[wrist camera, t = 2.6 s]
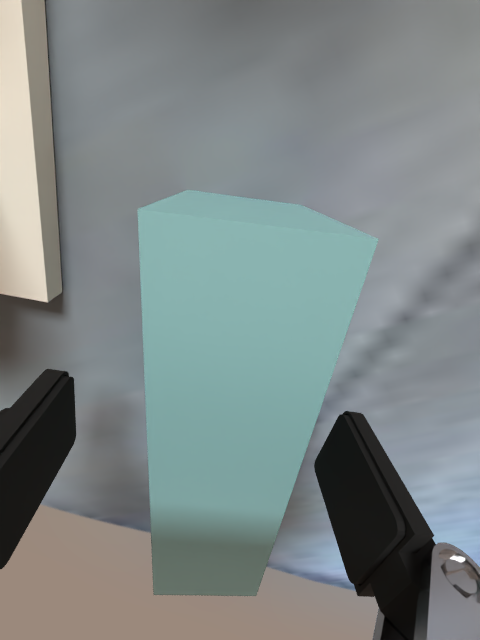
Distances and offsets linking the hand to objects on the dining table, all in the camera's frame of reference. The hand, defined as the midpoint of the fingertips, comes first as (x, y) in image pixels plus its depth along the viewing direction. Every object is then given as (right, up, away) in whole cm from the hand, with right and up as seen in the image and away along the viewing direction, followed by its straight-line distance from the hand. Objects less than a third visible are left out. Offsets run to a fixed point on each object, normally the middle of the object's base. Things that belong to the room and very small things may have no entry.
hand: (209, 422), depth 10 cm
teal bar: (0, +2, +3) cm, 4 cm away
